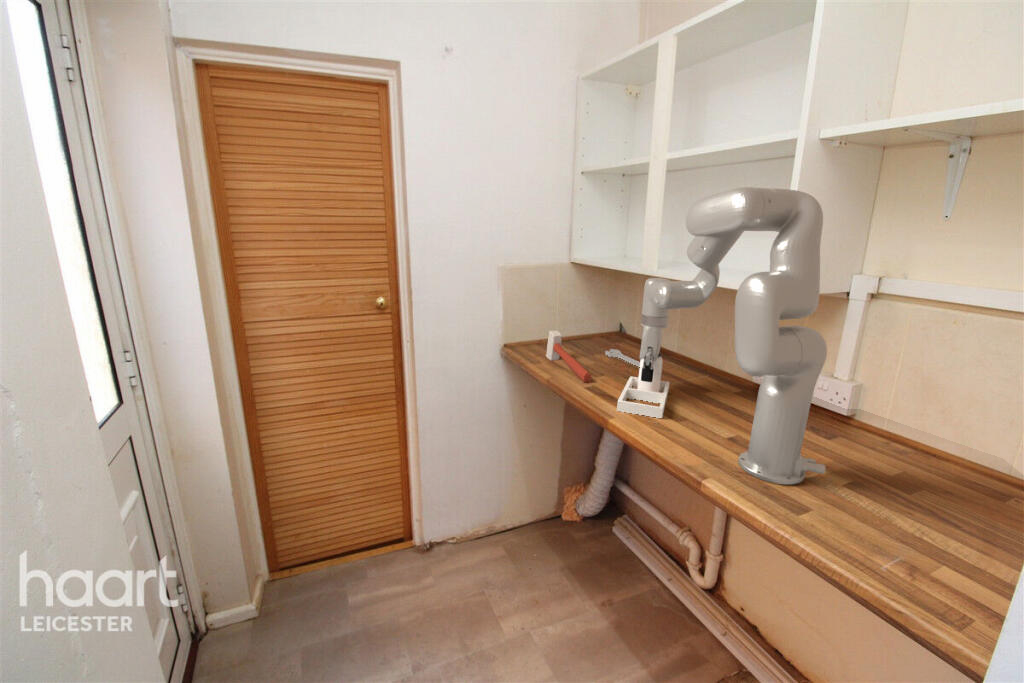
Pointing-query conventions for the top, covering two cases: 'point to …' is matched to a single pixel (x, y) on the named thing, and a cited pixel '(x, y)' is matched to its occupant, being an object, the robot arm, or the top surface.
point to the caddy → (645, 396)
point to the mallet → (564, 356)
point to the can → (655, 383)
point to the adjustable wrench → (621, 356)
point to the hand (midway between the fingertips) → (648, 376)
